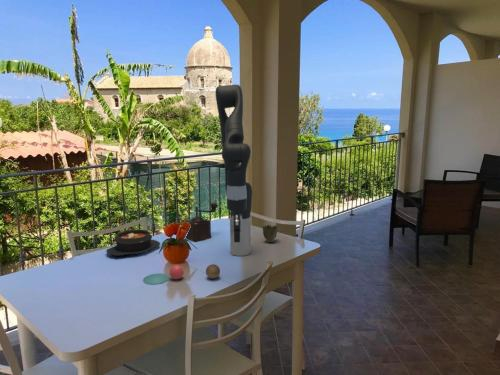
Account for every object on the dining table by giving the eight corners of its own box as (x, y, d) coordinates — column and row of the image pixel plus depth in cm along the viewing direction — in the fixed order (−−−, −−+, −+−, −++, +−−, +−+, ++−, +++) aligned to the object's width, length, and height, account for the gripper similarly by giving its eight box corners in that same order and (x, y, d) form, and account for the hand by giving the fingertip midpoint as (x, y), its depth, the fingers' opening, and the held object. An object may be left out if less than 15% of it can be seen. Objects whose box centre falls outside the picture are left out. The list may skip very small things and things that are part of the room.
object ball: (171, 276, 152) (170, 262, 151) (185, 275, 152) (184, 262, 151) (168, 281, 147) (168, 268, 146) (183, 281, 147) (182, 268, 146)
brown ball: (206, 275, 153) (206, 262, 152) (220, 275, 153) (220, 262, 152) (205, 281, 147) (205, 267, 146) (219, 280, 147) (219, 267, 146)
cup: (279, 240, 195) (279, 225, 193) (274, 245, 188) (274, 229, 187) (265, 238, 198) (266, 223, 196) (260, 243, 191) (260, 227, 190)
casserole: (117, 263, 166) (115, 244, 164) (100, 252, 179) (98, 235, 178) (167, 249, 183) (167, 232, 181) (148, 240, 196) (148, 224, 195)
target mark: (146, 274, 154) (146, 273, 154) (171, 273, 154) (171, 273, 154) (140, 284, 144) (140, 284, 144) (167, 284, 144) (166, 283, 144)
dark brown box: (195, 242, 193) (194, 207, 189) (183, 237, 200) (182, 204, 197) (220, 236, 203) (219, 202, 200) (207, 231, 211) (206, 199, 208)
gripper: (227, 193, 151) (227, 235, 154) (226, 200, 138) (226, 247, 141) (246, 193, 151) (246, 235, 155) (247, 200, 138) (247, 246, 141)
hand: (237, 240), depth 148 cm, fingers closed
